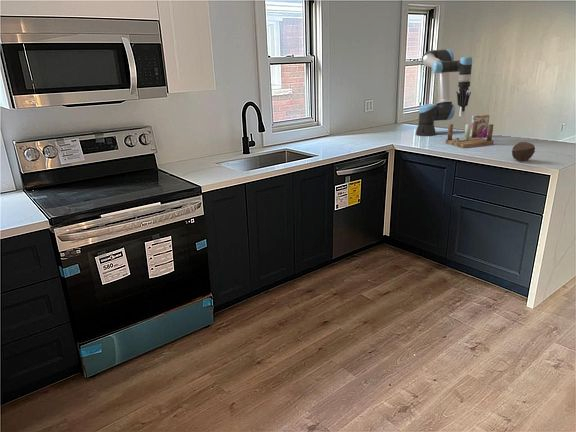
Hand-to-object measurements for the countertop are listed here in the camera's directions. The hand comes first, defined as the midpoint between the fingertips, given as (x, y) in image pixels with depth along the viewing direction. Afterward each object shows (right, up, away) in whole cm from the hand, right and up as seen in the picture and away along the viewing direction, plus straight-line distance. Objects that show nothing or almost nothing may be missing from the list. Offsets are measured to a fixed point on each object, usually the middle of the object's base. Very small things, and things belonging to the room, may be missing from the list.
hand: (461, 116), depth 295 cm
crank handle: (-1, -18, -2) cm, 18 cm away
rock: (+14, -38, -50) cm, 65 cm away
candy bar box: (+21, -11, +20) cm, 31 cm away
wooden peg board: (+5, -20, 0) cm, 20 cm away
